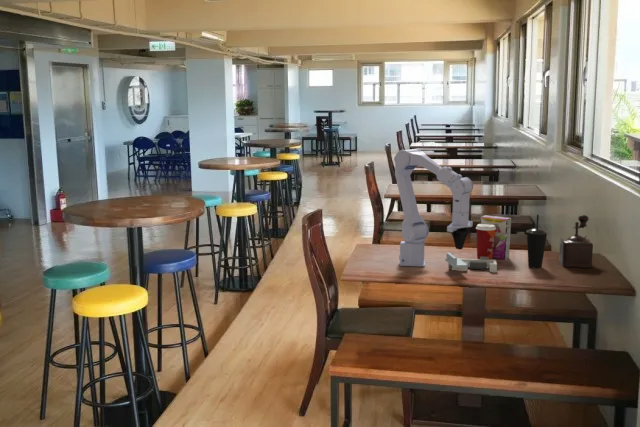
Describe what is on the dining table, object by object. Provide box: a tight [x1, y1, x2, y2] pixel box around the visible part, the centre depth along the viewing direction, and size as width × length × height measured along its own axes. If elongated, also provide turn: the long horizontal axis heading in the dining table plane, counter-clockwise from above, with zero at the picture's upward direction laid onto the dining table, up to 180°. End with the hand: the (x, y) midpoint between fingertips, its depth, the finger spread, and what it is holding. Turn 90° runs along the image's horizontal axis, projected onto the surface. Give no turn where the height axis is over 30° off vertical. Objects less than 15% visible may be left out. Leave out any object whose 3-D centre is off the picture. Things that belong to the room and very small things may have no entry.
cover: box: [444, 252, 468, 268], centre depth 244 cm, size 11×5×3 cm, turn 6°
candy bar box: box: [479, 214, 512, 261], centre depth 266 cm, size 11×5×16 cm, turn 56°
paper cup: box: [475, 223, 496, 260], centre depth 262 cm, size 8×8×14 cm
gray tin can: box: [469, 261, 488, 271], centre depth 249 cm, size 6×3×3 cm
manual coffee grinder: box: [558, 214, 594, 269], centre depth 257 cm, size 16×11×18 cm
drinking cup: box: [525, 214, 548, 269], centre depth 251 cm, size 8×8×20 cm
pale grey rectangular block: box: [447, 252, 498, 273], centre depth 250 cm, size 17×8×6 cm, turn 81°
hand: (459, 248), depth 242 cm, fingers closed
